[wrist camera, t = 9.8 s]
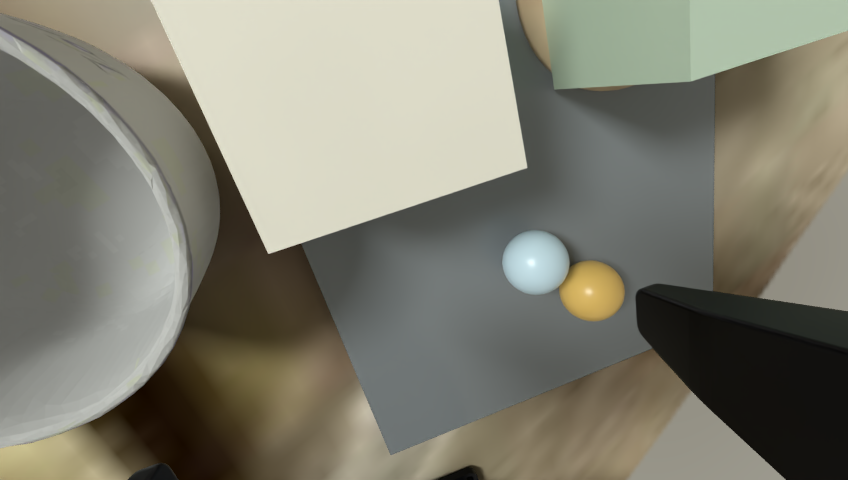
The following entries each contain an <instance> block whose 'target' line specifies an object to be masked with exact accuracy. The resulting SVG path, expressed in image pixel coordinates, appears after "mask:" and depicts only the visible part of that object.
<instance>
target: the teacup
mask: <svg viewBox="0 0 848 480" xmlns="http://www.w3.org/2000/svg"><path fill="white" fill-rule="evenodd" d="M219 222H220V199H219V191H218V186H217V181H216V177H215V173H214V170H213V167H212V164H211V161H210V159H209V157H208V154H207V152H206V150H205V148H204V146H203V144H202V143H201V141H200V139H199V137H198V136H197V134H196V132H195V131H194V129H193V128H192V126H191V125H190V124H189V122H188V121H187V120H186V118H185V117H184V116H183V115H182V113H181V112H180V111H179V110H178V109H177V108H176V107H175V105H174V104H173V103H172V102H171V101H170V100H169V99H168V98H167V97H166V96H165V95H164V94H163V93H162V92H161V91H159V90H158V89H157V88H156V87H155V86H154V85H152V84H151V83H150V82H149V81H148V80H147V79H145V78H144V77H143V76H142V75H140V74H139V73H137V72H136V71H134V70H133V69H131V68H130V67H129V66H127V65H126V64H124V63H123V62H121V61H119V60H118V59H116V58H114V57H112V56H111V55H109V54H107V53H105V52H104V51H102V50H100V49H98V48H96V47H94V46H92V45H90V44H88V43H86V42H84V41H82V40H80V39H77V38H75V37H72V36H69V35H67V34H64V33H62V32H59V31H56V30H53V29H51V28H48V27H45V26H42V25H39V24H36V23H33V22H30V21H26V20H23V19H19V18H16V17H13V16H9V15H6V14H2V13H0V448H3V447H8V446H14V445H21V444H27V443H33V442H36V441H39V440H42V439H46V438H49V437H52V436H55V435H58V434H61V433H64V432H66V431H69V430H71V429H74V428H76V427H79V426H81V425H83V424H85V423H88V422H90V421H92V420H94V419H96V418H98V417H100V416H102V415H103V414H105V413H107V412H108V411H110V410H111V409H113V408H114V407H116V406H117V405H119V404H120V403H121V402H123V401H124V400H126V399H127V398H128V397H130V396H131V395H132V394H134V393H135V392H136V391H137V390H138V389H140V388H141V387H142V386H143V385H144V384H145V383H146V382H147V381H148V380H149V379H150V378H151V377H152V375H153V374H154V373H155V372H156V371H157V370H158V369H159V368H160V366H161V365H162V364H163V363H164V361H165V360H166V358H167V357H168V355H169V354H170V352H171V351H172V349H173V347H174V345H175V343H176V341H177V339H178V337H179V335H180V333H181V331H182V329H183V327H184V323H185V320H186V316H187V313H188V311H189V308H190V303H191V301H192V299H193V297H194V295H195V294H196V292H197V290H198V287H199V285H200V283H201V281H202V279H203V277H204V274H205V272H206V270H207V268H208V265H209V263H210V260H211V257H212V255H213V252H214V248H215V245H216V241H217V237H218V230H219Z"/></svg>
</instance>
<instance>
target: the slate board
mask: <svg viewBox="0 0 848 480" xmlns="http://www.w3.org/2000/svg"><path fill="white" fill-rule="evenodd" d="M499 5H500V11H501V17H502V23H503V29H504V34H505V40H506V46H507V52H508V58H509V63H510V69H511V75H512V81H513V87H514V93H515V98H516V104H517V110H518V116H519V122H520V128H521V133H522V139H523V145H524V151H525V157H526V162H527V168H525V169H522V170H519V171H516V172H513V173H510V174H507V175H504V176H501V177H498V178H495V179H492V180H489V181H486V182H483V183H480V184H477V185H474V186H471V187H468V188H465V189H462V190H459V191H456V192H453V193H450V194H447V195H444V196H441V197H438V198H435V199H432V200H429V201H426V202H423V203H420V204H417V205H414V206H411V207H408V208H405V209H402V210H399V211H396V212H393V213H390V214H387V215H384V216H381V217H378V218H375V219H372V220H369V221H366V222H363V223H360V224H357V225H354V226H351V227H348V228H345V229H342V230H339V231H336V232H333V233H330V234H327V235H324V236H321V237H318V238H315V239H312V240H309V241H306V242H303V243H301V244H302V247H303V249H304V251H305V254H306V256H307V259H308V261H309V263H310V266H311V268H312V270H313V273H314V275H315V277H316V280H317V282H318V285H319V287H320V289H321V292H322V294H323V296H324V299H325V301H326V303H327V306H328V308H329V311H330V313H331V315H332V318H333V320H334V322H335V325H336V327H337V329H338V332H339V334H340V337H341V339H342V341H343V344H344V346H345V348H346V351H347V353H348V355H349V358H350V360H351V363H352V365H353V367H354V370H355V372H356V374H357V377H358V379H359V381H360V384H361V386H362V389H363V391H364V393H365V396H366V398H367V400H368V403H369V405H370V407H371V410H372V412H373V415H374V417H375V419H376V422H377V424H378V426H379V429H380V431H381V433H382V436H383V438H384V441H385V443H386V445H387V448H388V450H389V452H390V455H392V454H395V453H397V452H400V451H402V450H405V449H407V448H410V447H412V446H414V445H417V444H419V443H422V442H424V441H427V440H429V439H432V438H434V437H437V436H439V435H441V434H444V433H446V432H449V431H451V430H454V429H456V428H459V427H461V426H463V425H466V424H468V423H471V422H473V421H476V420H478V419H481V418H483V417H486V416H488V415H490V414H493V413H495V412H498V411H500V410H503V409H505V408H508V407H510V406H512V405H515V404H517V403H520V402H522V401H525V400H527V399H530V398H532V397H535V396H537V395H539V394H542V393H544V392H547V391H549V390H552V389H554V388H557V387H559V386H562V385H564V384H566V383H569V382H571V381H574V380H576V379H579V378H581V377H584V376H586V375H588V374H591V373H593V372H596V371H598V370H601V369H603V368H606V367H608V366H611V365H613V364H615V363H618V362H620V361H623V360H625V359H628V358H630V357H633V356H635V355H637V354H640V353H642V352H645V351H647V350H650V349H652V347H651V346H650V345H649V343H648V342H647V341H646V340H645V339H644V338H643V337H642V335H641V334H640V332H639V330H638V327H637V319H636V303H635V295H636V292H637V291H638V290H639V289H641V288H643V287H646V286H649V285H652V284H655V283H660V284H667V285H674V286H681V287H687V288H694V289H701V290H707V291H713V239H714V138H715V74H713V75H709V76H706V77H703V78H700V79H697V80H694V81H691V82H675V83H658V84H641V85H633V86H630V87H627V88H623V89H619V90H610V91H591V90H585V89H581V88H572V89H555V90H554V84H553V77H552V73H551V72H550V71H549V70H548V69H547V68H546V67H545V66H544V65H543V64H542V62H541V61H540V60H539V59H538V58H537V56H536V54H535V53H534V51H533V50H532V48H531V47H530V45H529V43H528V40H527V38H526V36H525V34H524V31H523V28H522V26H521V23H520V20H519V15H518V10H517V6H516V0H499ZM529 230H541V231H546V232H548V233H551V234H553V235H554V236H556V237H557V238H558V239H559V240H560V241H561V242H562V243H563V244H564V246H565V248H566V249H567V252H568V255H569V261H570V264H569V268H570V267H571V266H572V265H574V264H576V263H578V262H581V261H587V260H593V261H599V262H603V263H605V264H607V265H609V266H610V267H612V268H613V269H614V270H615V271H616V272H617V273H618V274H619V276H620V277H621V279H622V281H623V284H624V289H625V296H624V301H623V303H622V306H621V307H620V309H619V310H618V311H617V312H616V313H615V314H614V315H613V316H611V317H609V318H607V319H605V320H601V321H586V320H582V319H579V318H577V317H575V316H574V315H572V314H571V313H570V312H569V311H568V310H567V309H566V308H565V306H564V305H563V303H562V301H561V298H560V294H559V287H558V288H556V289H555V290H553V291H551V292H549V293H546V294H541V295H531V294H527V293H524V292H522V291H520V290H518V289H516V288H515V287H514V286H513V285H512V284H511V283H510V282H509V281H508V279H507V278H506V276H505V273H504V270H503V265H502V259H503V253H504V250H505V248H506V246H507V245H508V243H509V242H510V241H511V240H512V239H513V238H514V237H515V236H517V235H518V234H520V233H523V232H525V231H529Z"/></svg>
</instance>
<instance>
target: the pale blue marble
mask: <svg viewBox="0 0 848 480" xmlns="http://www.w3.org/2000/svg"><path fill="white" fill-rule="evenodd" d="M569 264H570V261H569V255H568V252H567V249H566V248H565V246H564V244H563V243H562V242H561V241H560V240H559V239H558V238H557V237H556V236H554V235H553V234H551V233H548V232H546V231H541V230H529V231H525V232H523V233H520V234H518V235H517V236H515V237H514V238H513V239H512V240H511V241H510V242H509V243H508V245H507V246H506V248H505V250H504V253H503V259H502V265H503V270H504V273H505V276H506V278H507V279H508V281H509V282H510V283H511V284H512V285H513V286H514V287H515V288H516V289H518V290H520V291H522V292H524V293H527V294H531V295H541V294H546V293H549V292H551V291H553V290H555V289H556V288H558V287H559V286H560V285H561V284H562V283H563V281H564V280H565V278H566V276H567V274H568V271H569Z"/></svg>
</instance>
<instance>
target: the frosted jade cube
mask: <svg viewBox="0 0 848 480" xmlns="http://www.w3.org/2000/svg"><path fill="white" fill-rule="evenodd" d="M542 4H543V12H544V19H545V26H546V33H547V41H548V48H549V55H550V63H551V70H552V77H553V84H554V90H555V89H572V88H589V87H606V86H624V85H641V84H658V83H675V82H691V81H694V80H697V79H700V78H703V77H706V76H709V75H713V74H716V73H719V72H722V71H725V70H728V69H731V68H734V67H737V66H740V65H743V64H746V63H749V62H753V61H756V60H759V59H762V58H765V57H768V56H771V55H774V54H777V53H780V52H783V51H786V50H789V49H793V48H796V47H799V46H802V45H805V44H808V43H811V42H814V41H817V40H820V39H823V38H826V37H829V36H832V35H836V34H839V33H842V32H845V31H848V0H542Z"/></svg>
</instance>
